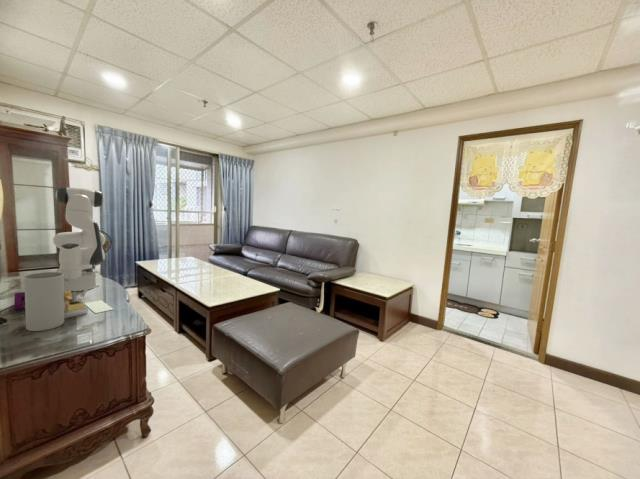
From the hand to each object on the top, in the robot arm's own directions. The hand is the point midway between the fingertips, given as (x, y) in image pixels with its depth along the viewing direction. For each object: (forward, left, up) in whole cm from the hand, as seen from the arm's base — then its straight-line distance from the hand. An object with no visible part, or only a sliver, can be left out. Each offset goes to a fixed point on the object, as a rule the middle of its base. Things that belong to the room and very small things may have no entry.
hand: (71, 298), depth 139 cm
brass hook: (0, 0, -4) cm, 4 cm away
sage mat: (+2, +11, -7) cm, 13 cm away
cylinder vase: (+14, -12, -7) cm, 20 cm away
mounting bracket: (-25, -12, -8) cm, 28 cm away
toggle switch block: (0, 0, -7) cm, 7 cm away
